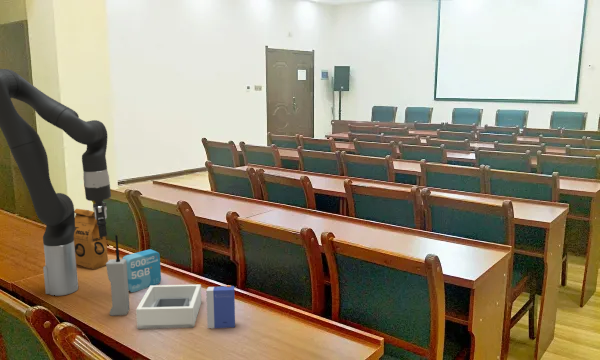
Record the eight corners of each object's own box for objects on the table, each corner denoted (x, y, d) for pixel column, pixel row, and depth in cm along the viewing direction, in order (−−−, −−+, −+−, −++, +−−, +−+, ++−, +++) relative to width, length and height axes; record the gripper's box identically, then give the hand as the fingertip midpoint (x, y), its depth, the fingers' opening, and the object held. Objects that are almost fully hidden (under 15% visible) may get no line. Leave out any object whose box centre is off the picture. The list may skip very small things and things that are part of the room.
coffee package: (90, 272, 183) (85, 215, 179) (69, 265, 189) (64, 210, 185) (112, 264, 191) (108, 209, 187) (92, 258, 198) (88, 205, 194)
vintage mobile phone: (113, 310, 152) (107, 233, 148) (129, 309, 153) (124, 232, 148) (109, 316, 149) (103, 237, 144) (126, 315, 149) (121, 236, 144)
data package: (129, 293, 165) (127, 259, 162) (123, 289, 168) (121, 256, 165) (161, 283, 173) (159, 251, 171) (154, 279, 176) (153, 248, 174)
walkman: (235, 322, 145) (234, 284, 142) (234, 327, 142) (233, 288, 140) (208, 324, 144) (206, 285, 142) (207, 328, 141) (205, 289, 139)
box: (137, 328, 141) (136, 309, 140) (151, 303, 158) (150, 285, 156) (193, 327, 142) (192, 308, 141) (201, 301, 159) (200, 284, 157)
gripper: (84, 181, 161) (90, 228, 164) (83, 189, 148) (90, 241, 151) (108, 178, 164) (114, 225, 167) (110, 186, 151) (116, 237, 154)
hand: (103, 232), depth 159 cm, fingers open, 8 cm apart
